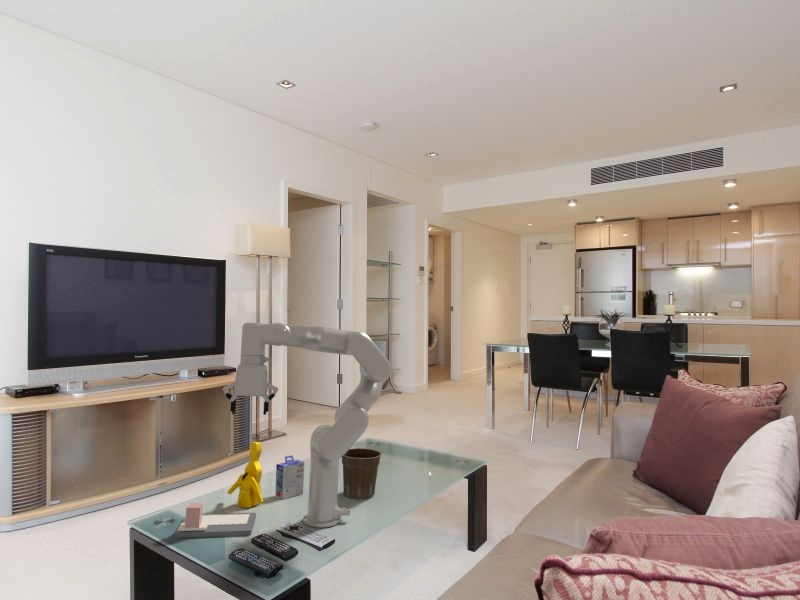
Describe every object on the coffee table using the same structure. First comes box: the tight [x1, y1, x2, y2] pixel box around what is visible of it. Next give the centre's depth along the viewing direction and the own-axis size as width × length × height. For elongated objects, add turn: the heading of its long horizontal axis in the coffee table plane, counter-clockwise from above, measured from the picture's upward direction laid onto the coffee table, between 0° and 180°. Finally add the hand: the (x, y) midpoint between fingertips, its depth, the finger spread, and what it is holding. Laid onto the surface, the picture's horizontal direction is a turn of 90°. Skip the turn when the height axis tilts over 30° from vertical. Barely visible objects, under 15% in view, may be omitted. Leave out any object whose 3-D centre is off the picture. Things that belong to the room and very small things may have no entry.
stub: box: [177, 502, 209, 531], centre depth 151 cm, size 8×4×7 cm, turn 100°
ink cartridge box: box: [275, 455, 305, 500], centre depth 189 cm, size 10×6×14 cm, turn 137°
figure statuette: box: [226, 441, 264, 509], centre depth 177 cm, size 18×8×22 cm, turn 60°
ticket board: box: [174, 512, 257, 539], centre depth 156 cm, size 22×14×2 cm, turn 100°
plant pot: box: [341, 447, 382, 500], centre depth 192 cm, size 16×16×16 cm
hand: (249, 413), depth 158 cm, fingers open, 9 cm apart
